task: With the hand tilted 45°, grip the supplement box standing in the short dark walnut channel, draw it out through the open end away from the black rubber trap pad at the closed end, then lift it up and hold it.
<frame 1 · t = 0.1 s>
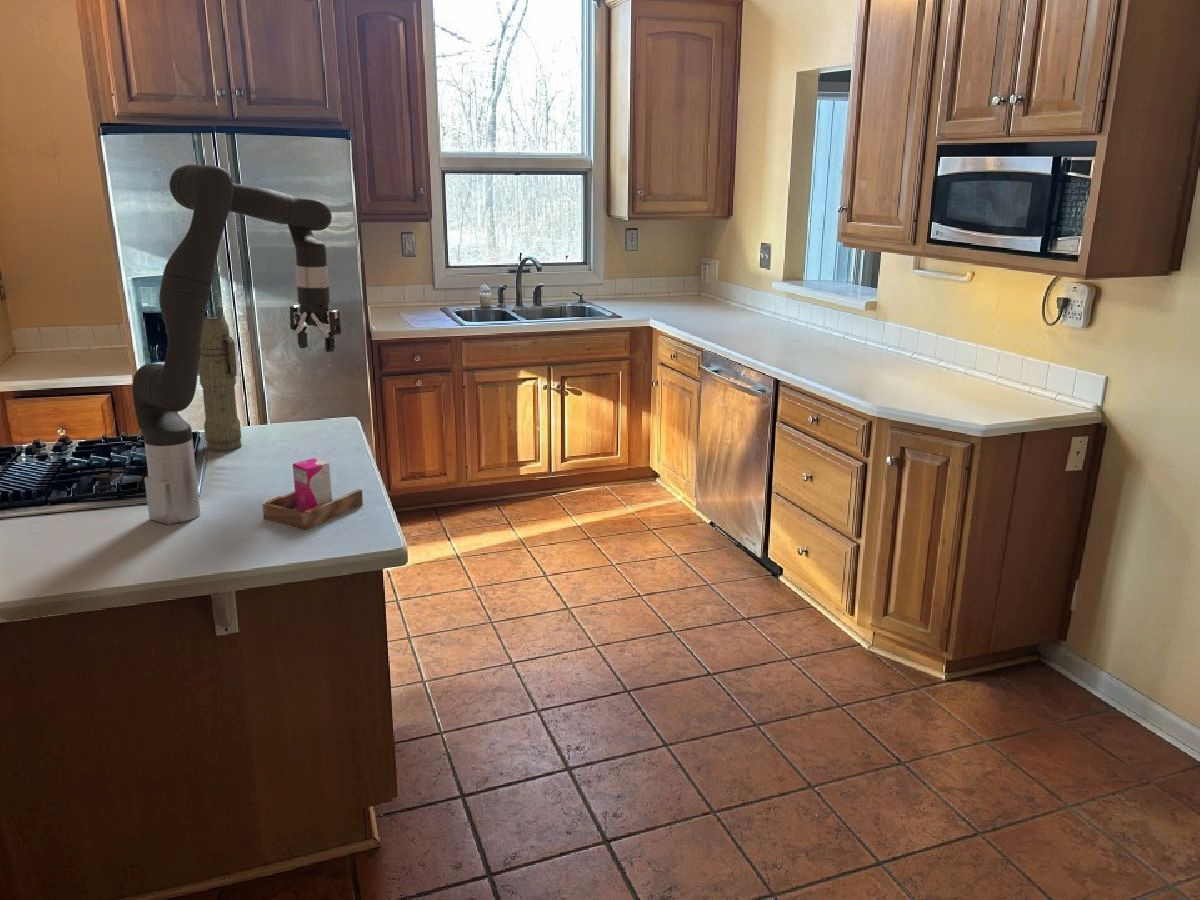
hand: (316, 349, 225), 29 cm above the table, tool pointing down, fingers open, 8 cm apart
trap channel: (314, 511, 200), on the table
supplement box: (314, 512, 200), resting in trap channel
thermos: (224, 447, 242), on the table
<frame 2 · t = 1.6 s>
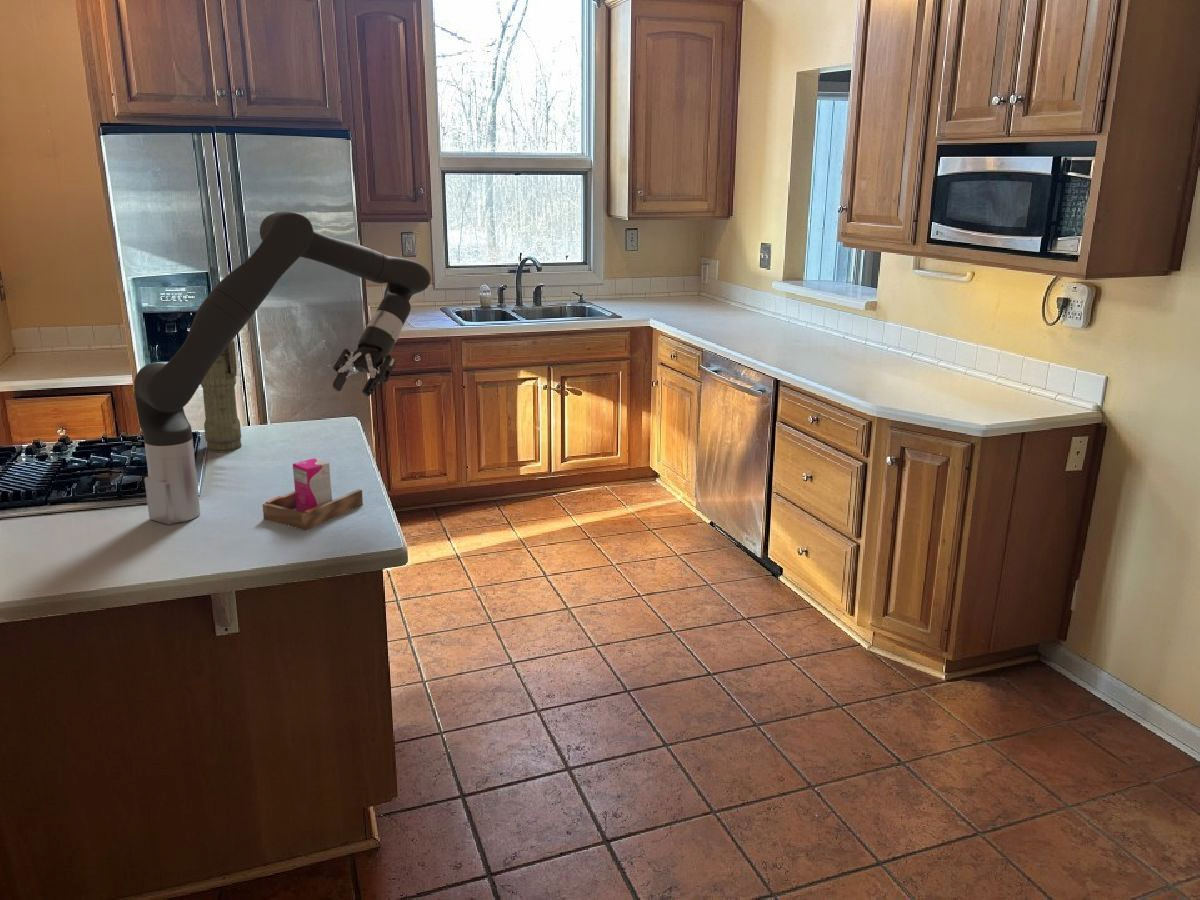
hand: (350, 391, 204), 25 cm above the table, tool tilted 45°, fingers open, 8 cm apart
nothing on the table moved.
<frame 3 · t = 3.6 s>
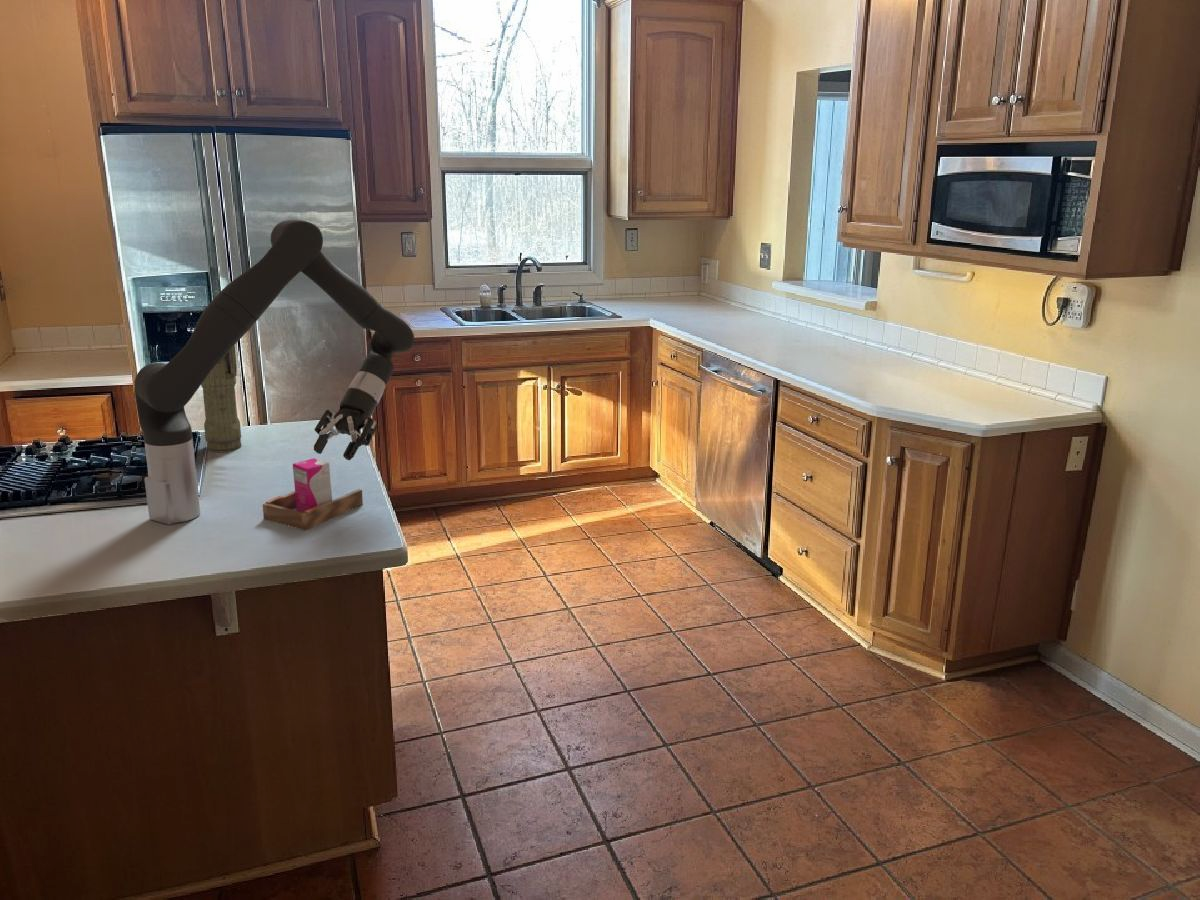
hand: (331, 455, 202), 11 cm above the table, tool tilted 45°, fingers open, 8 cm apart
nothing on the table moved.
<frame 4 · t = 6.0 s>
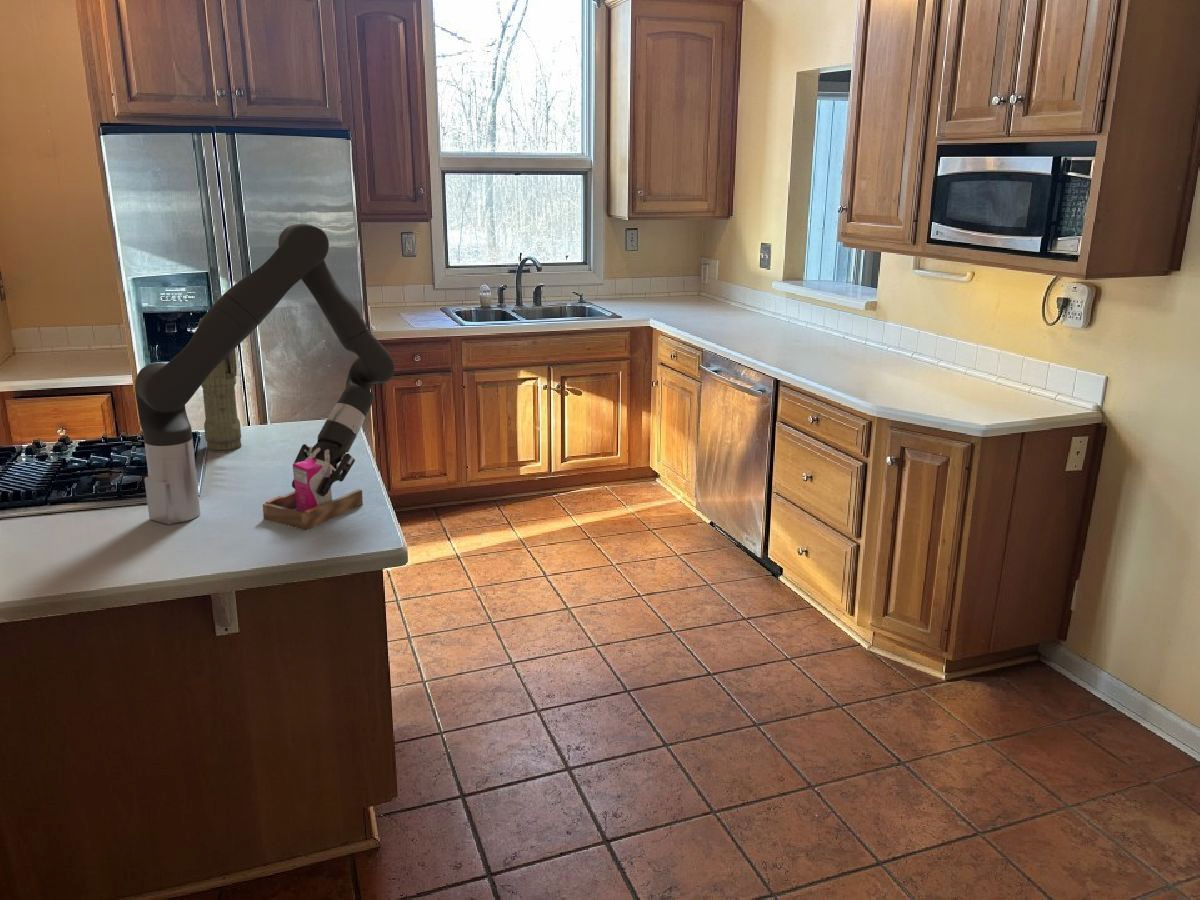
hand: (307, 491, 197), 5 cm above the table, tool tilted 45°, fingers closed on supplement box, 6 cm apart
supplement box: (314, 512, 200), resting in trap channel, touching gripper
everything else where it was.
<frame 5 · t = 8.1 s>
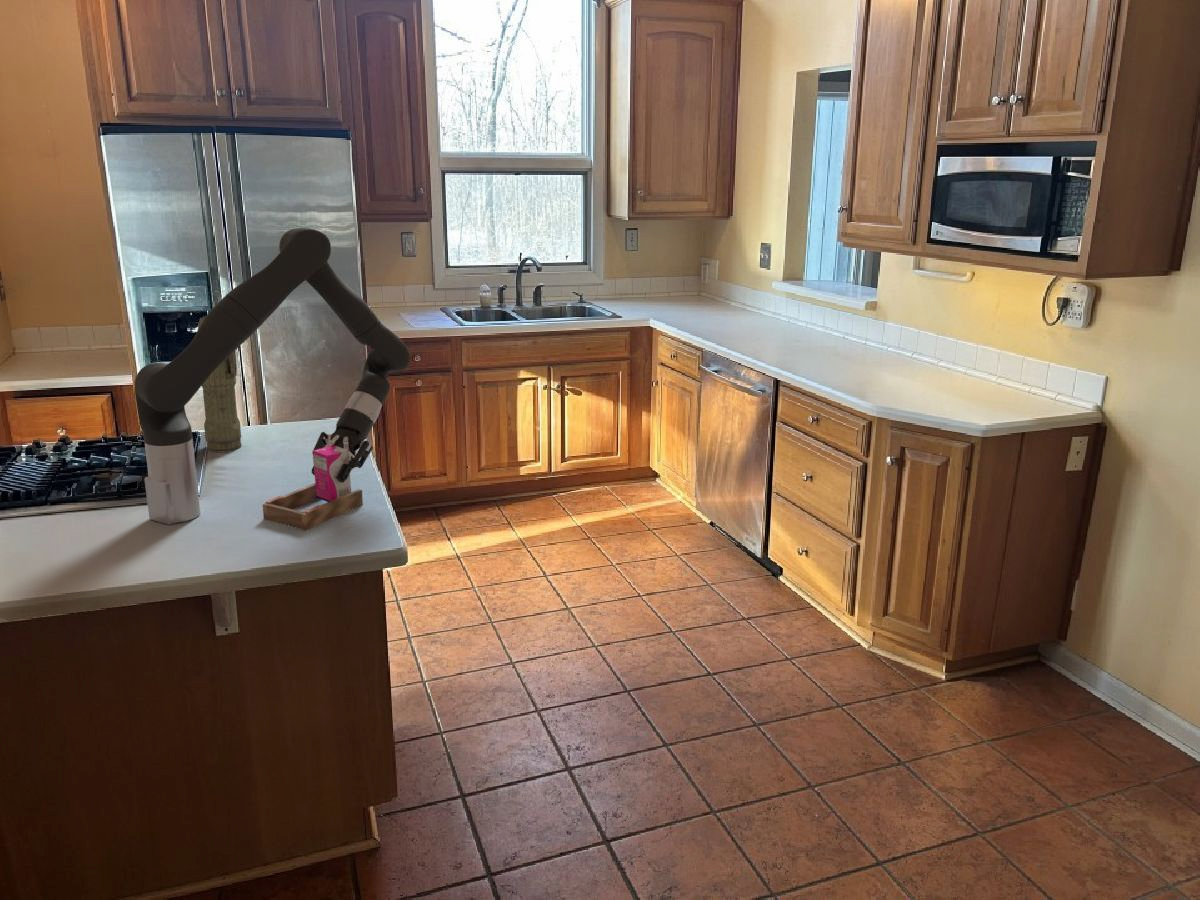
hand: (327, 477, 202), 7 cm above the table, tool tilted 45°, fingers closed on supplement box, 6 cm apart
supplement box: (333, 498, 205), point 1 cm above the table, touching gripper
everything else where it was.
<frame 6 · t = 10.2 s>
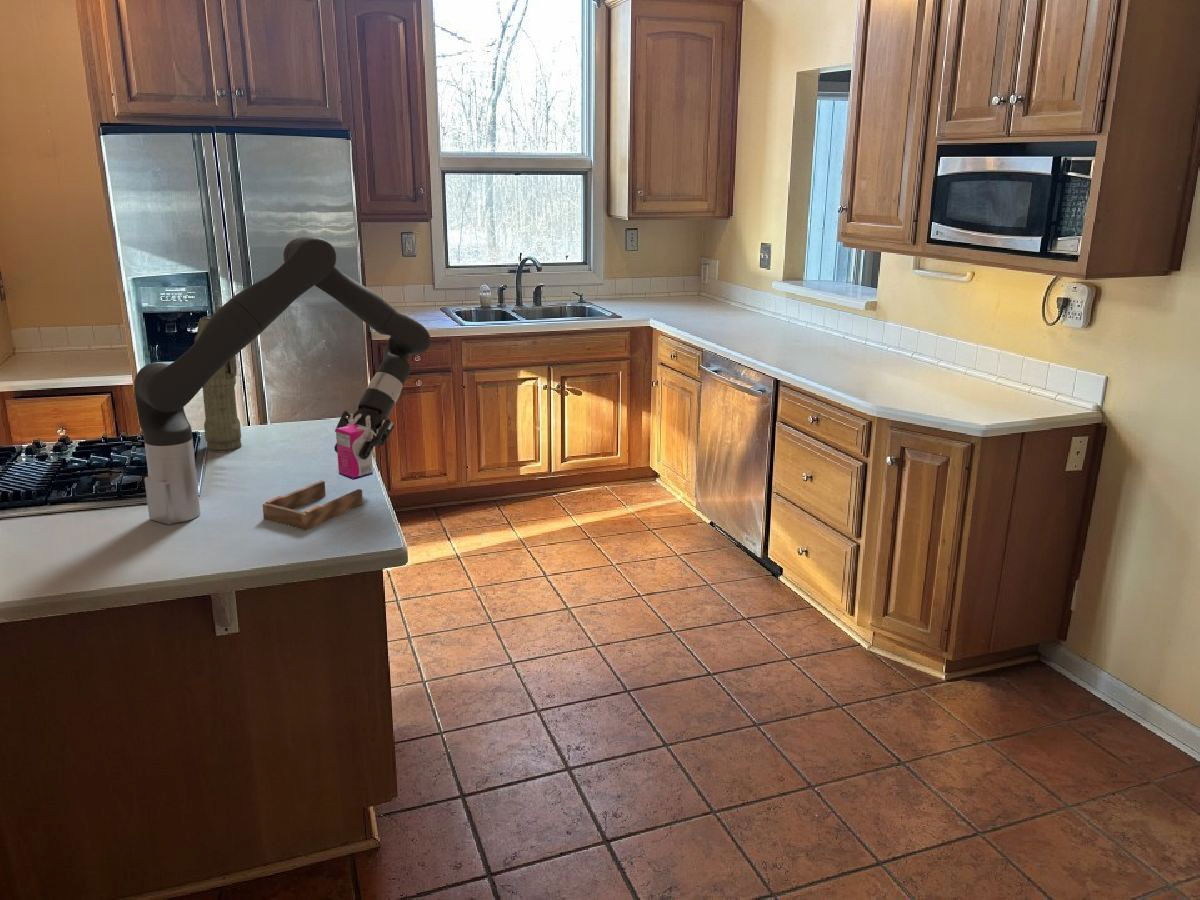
hand: (349, 455, 208), 10 cm above the table, tool tilted 45°, fingers closed on supplement box, 6 cm apart
supplement box: (355, 475, 211), point 4 cm above the table, touching gripper
everything else where it was.
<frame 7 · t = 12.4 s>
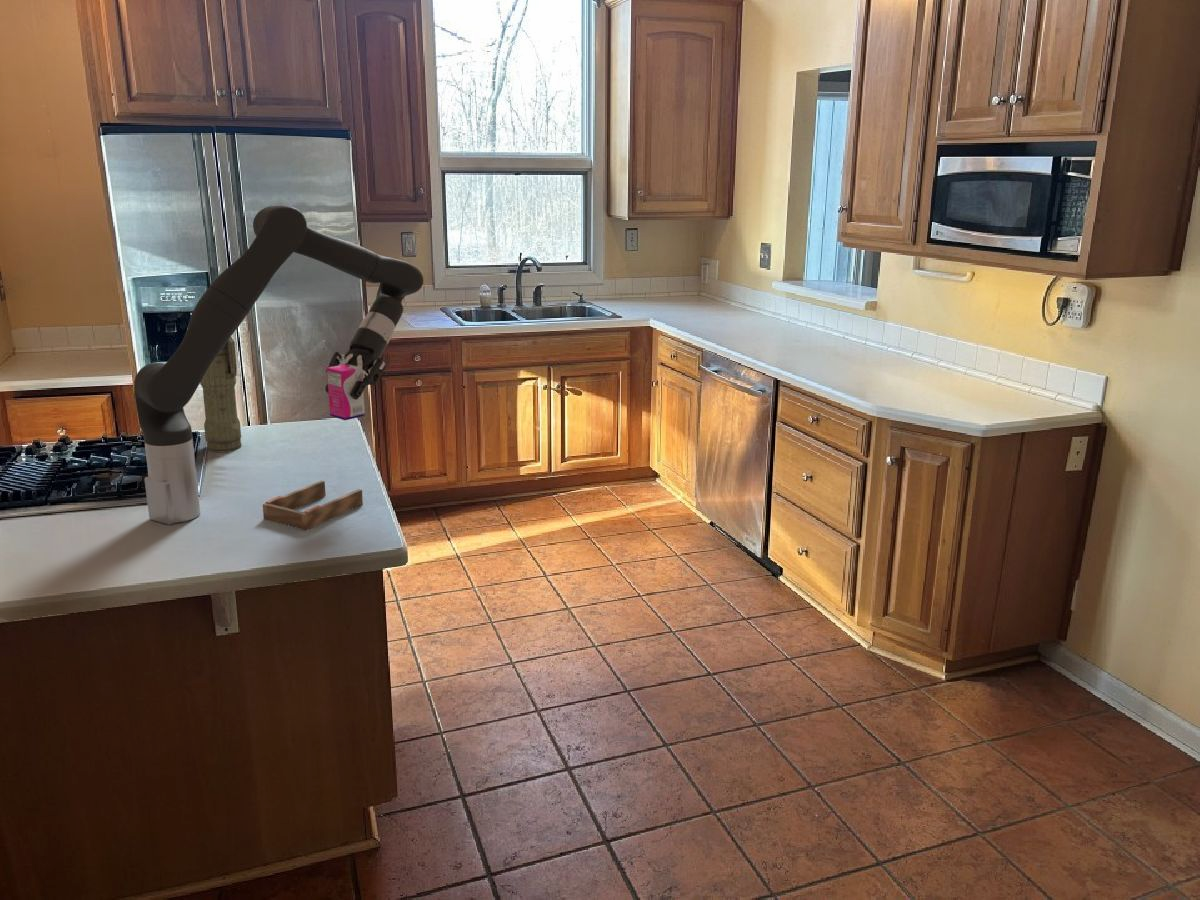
hand: (341, 395, 203), 24 cm above the table, tool tilted 45°, fingers closed on supplement box, 6 cm apart
supplement box: (347, 416, 206), point 19 cm above the table, touching gripper
everything else where it was.
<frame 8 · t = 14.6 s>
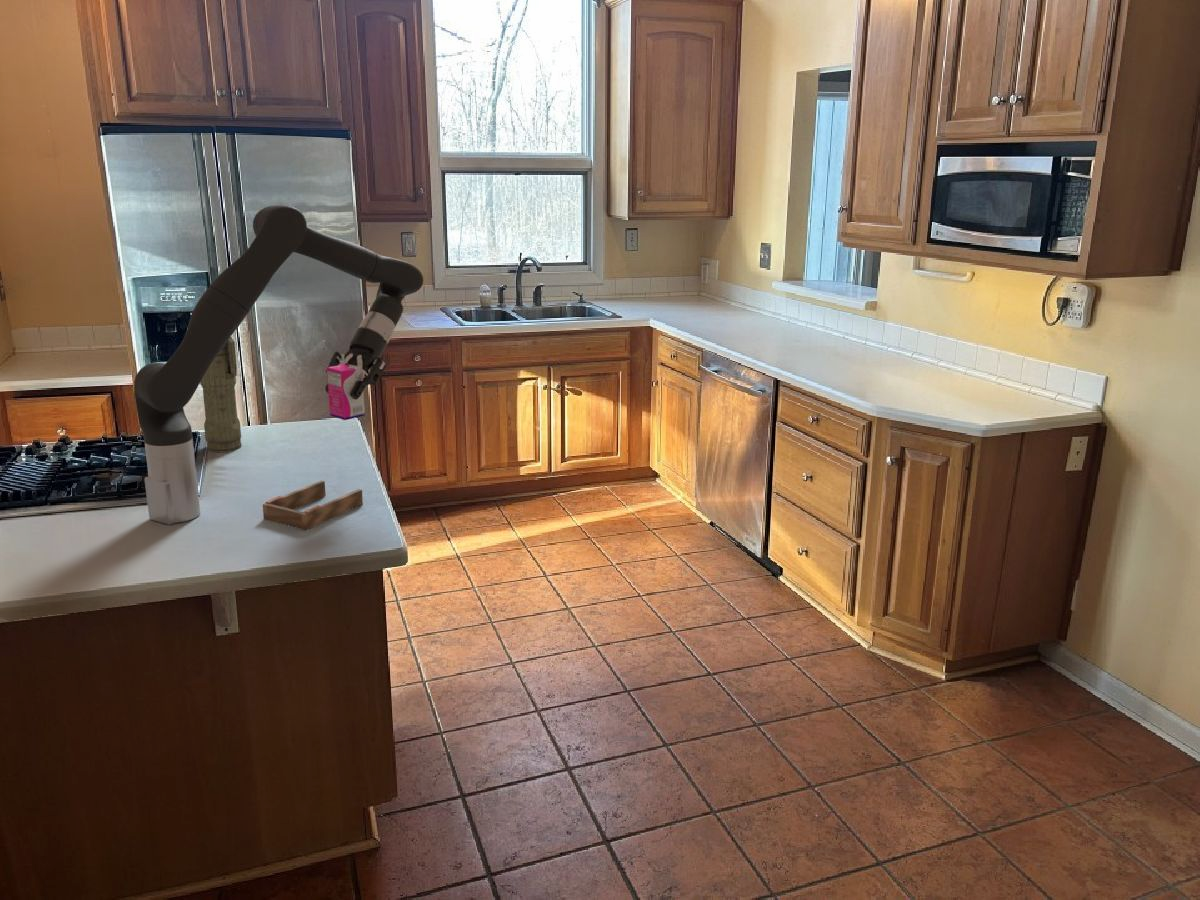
hand: (341, 395, 203), 24 cm above the table, tool tilted 45°, fingers closed on supplement box, 6 cm apart
supplement box: (347, 416, 206), point 19 cm above the table, touching gripper
everything else where it was.
at the end: the gripper is holding supplement box; supplement box inside the target area (1.0 cm from its centre), point 18.7 cm above the table; supplement box tilted 0° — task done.
